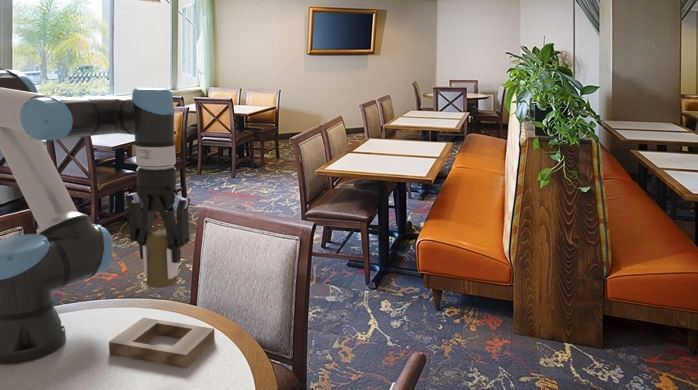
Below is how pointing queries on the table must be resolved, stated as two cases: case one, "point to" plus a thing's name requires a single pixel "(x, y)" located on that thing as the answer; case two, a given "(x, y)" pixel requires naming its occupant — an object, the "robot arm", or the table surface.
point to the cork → (158, 261)
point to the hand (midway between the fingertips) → (161, 274)
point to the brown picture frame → (178, 355)
